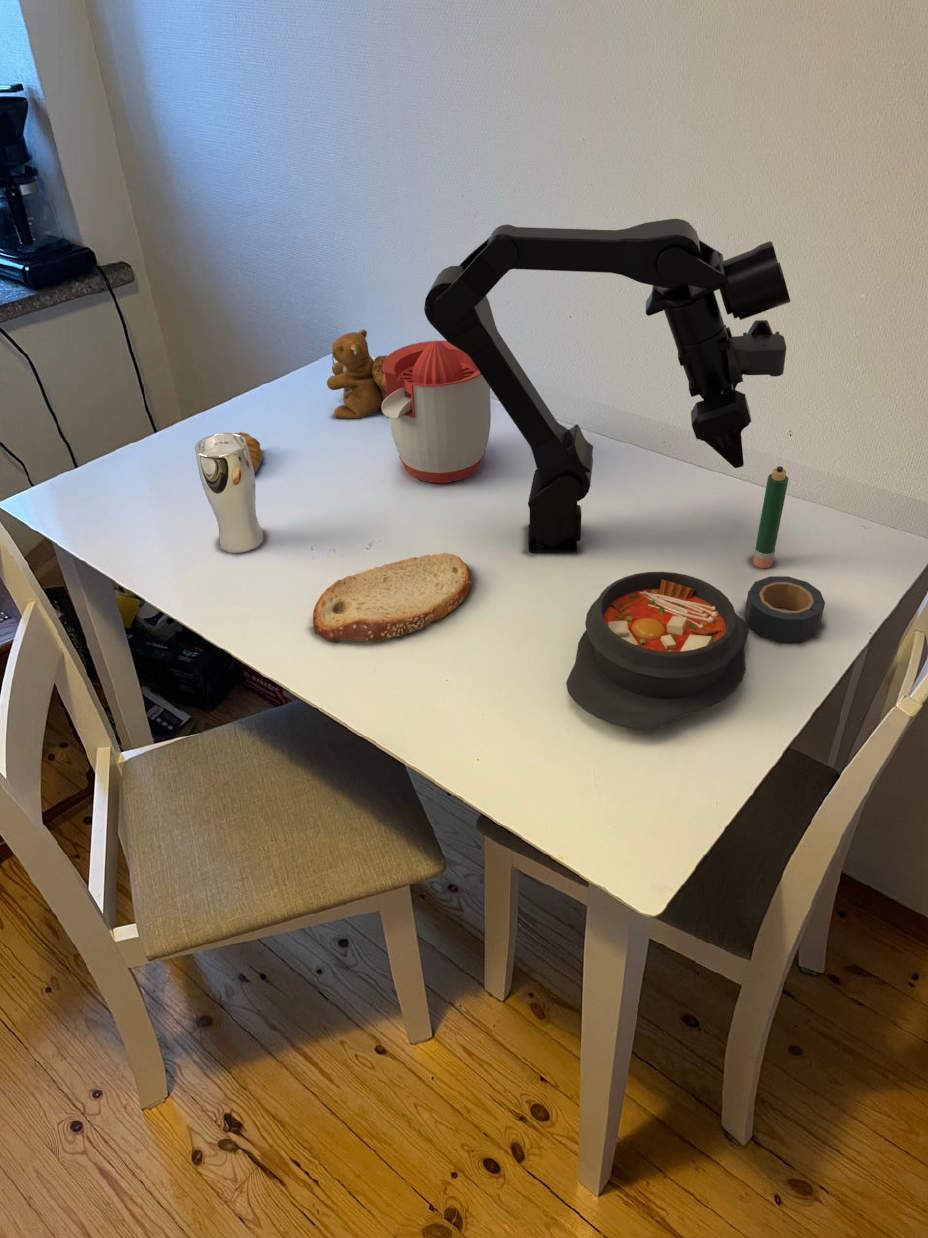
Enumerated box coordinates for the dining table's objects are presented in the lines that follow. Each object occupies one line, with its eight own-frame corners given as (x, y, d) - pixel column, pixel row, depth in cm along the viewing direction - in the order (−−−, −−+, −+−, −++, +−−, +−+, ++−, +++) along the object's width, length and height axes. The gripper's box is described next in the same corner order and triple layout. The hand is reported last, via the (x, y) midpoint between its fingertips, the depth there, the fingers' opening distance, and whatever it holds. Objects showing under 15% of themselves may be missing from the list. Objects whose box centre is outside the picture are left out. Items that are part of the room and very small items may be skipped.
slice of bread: (478, 567, 125) (477, 543, 123) (449, 655, 112) (447, 630, 109) (348, 556, 129) (344, 532, 126) (303, 640, 115) (299, 615, 113)
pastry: (269, 475, 147) (264, 453, 144) (225, 484, 145) (219, 462, 143) (260, 448, 154) (255, 426, 151) (218, 456, 152) (213, 434, 150)
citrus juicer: (363, 470, 147) (348, 345, 134) (447, 432, 156) (440, 311, 143) (429, 508, 137) (419, 377, 125) (515, 464, 146) (514, 338, 134)
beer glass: (276, 533, 134) (258, 436, 125) (248, 559, 129) (226, 461, 120) (236, 523, 136) (214, 428, 127) (206, 548, 131) (182, 451, 122)
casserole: (645, 587, 120) (651, 531, 115) (784, 644, 111) (797, 585, 105) (526, 694, 106) (526, 636, 101) (674, 771, 96) (682, 710, 91)
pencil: (754, 568, 123) (771, 472, 114) (750, 557, 125) (767, 462, 116) (774, 568, 122) (793, 472, 114) (770, 557, 124) (788, 462, 116)
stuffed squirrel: (344, 392, 169) (335, 319, 161) (420, 398, 166) (415, 324, 158) (323, 417, 162) (313, 342, 154) (402, 424, 158) (396, 348, 150)
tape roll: (752, 642, 111) (756, 619, 109) (739, 599, 118) (743, 576, 116) (825, 643, 111) (831, 619, 108) (809, 599, 117) (814, 576, 115)
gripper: (778, 340, 99) (814, 465, 107) (764, 278, 113) (796, 393, 121) (673, 376, 103) (715, 494, 111) (672, 313, 117) (709, 421, 125)
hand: (737, 448), depth 117 cm, fingers open, 9 cm apart
